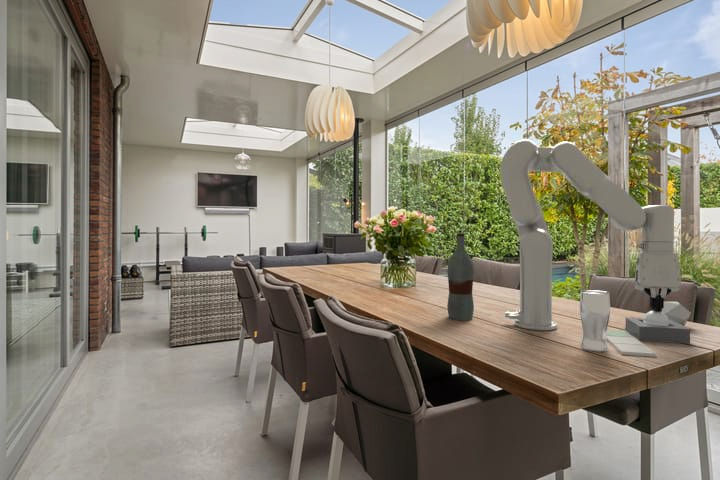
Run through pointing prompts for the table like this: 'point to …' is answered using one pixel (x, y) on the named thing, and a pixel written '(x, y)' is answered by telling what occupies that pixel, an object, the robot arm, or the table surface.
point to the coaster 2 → (623, 340)
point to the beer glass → (594, 319)
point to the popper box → (658, 331)
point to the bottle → (460, 283)
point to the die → (676, 312)
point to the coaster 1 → (618, 333)
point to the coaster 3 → (634, 350)
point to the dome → (656, 319)
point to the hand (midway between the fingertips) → (656, 310)
